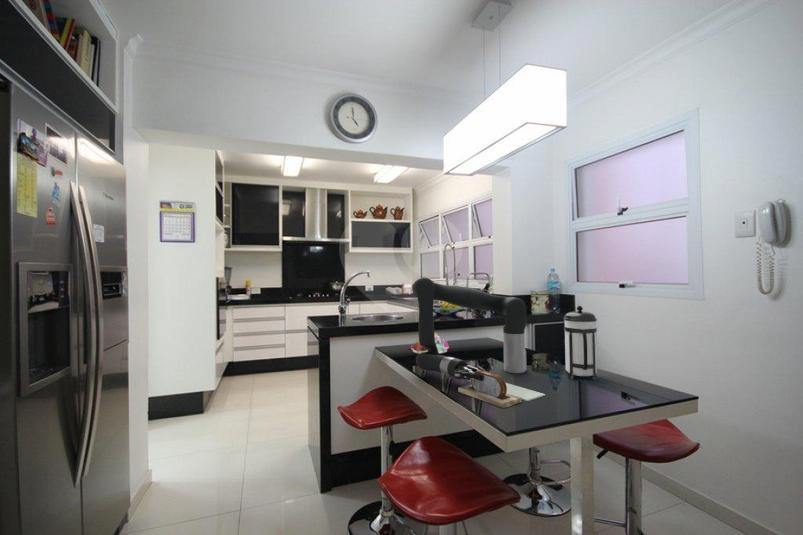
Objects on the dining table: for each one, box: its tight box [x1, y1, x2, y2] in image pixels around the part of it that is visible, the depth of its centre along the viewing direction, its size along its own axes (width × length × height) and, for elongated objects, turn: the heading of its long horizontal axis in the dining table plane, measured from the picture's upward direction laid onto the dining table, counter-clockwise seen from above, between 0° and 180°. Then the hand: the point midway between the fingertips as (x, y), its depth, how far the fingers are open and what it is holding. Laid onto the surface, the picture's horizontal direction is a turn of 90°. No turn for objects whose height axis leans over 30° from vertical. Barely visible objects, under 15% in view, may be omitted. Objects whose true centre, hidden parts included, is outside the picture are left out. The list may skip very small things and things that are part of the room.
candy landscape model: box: [409, 332, 450, 355], centre depth 220 cm, size 25×24×9 cm
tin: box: [470, 370, 507, 399], centre depth 134 cm, size 15×3×8 cm, turn 35°
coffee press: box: [563, 305, 599, 382], centre depth 157 cm, size 17×16×30 cm
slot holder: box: [457, 383, 522, 409], centre depth 134 cm, size 9×21×2 cm, turn 35°
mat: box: [505, 382, 546, 402], centre depth 141 cm, size 10×22×1 cm, turn 35°
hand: (486, 377), depth 135 cm, fingers closed on tin, 2 cm apart
